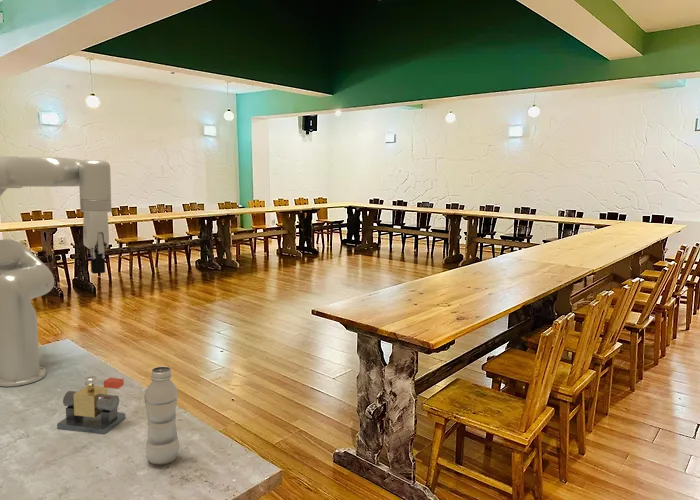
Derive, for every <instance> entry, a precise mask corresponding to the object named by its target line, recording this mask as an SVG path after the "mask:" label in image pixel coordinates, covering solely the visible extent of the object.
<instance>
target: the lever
mask: <svg viewBox="0 0 700 500" xmlns="http://www.w3.org/2000/svg"><path fill="white" fill-rule="evenodd" d="M93 384H94V385H96V386H103V387H105V388H108V389H116V390H118V389H120V388H122V387H123V386H124V385H125V381H124V378H117V377H108V378H98V377H97V376H94V375H92V376H91V375H90V376H87V377H85V378H84V385H86V386H88V385H93Z"/></svg>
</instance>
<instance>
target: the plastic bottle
mask: <svg viewBox="0 0 700 500" xmlns="http://www.w3.org/2000/svg"><path fill="white" fill-rule="evenodd" d="M171 379H172V369H171V367H169V366H157V367H153V368H152V369H151V377H150V380H151V382H150V384H149V385H148V386H147V388H146V389H145V392H144V395H143V397H144V403H145V408H146V414H147V423H148V425H147V426H148V427H147V441H146V446H145V455H146V459H147V460H148V461H149V462H150V463H151V464H153V465H158V466H159V465H160V466H161V465H166V464H169V463H171V462H173V461H175V460H176V458H177V457H178V455H179V451H180V441H179V437H178V431H177V423H176V421H177V420H176V419H177V418H176V416H177V405H178V397H179V391H178V388H177V386H176V385H175V384H174V382H173V381H172V380H171Z"/></svg>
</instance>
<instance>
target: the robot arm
mask: <svg viewBox="0 0 700 500" xmlns="http://www.w3.org/2000/svg"><path fill="white" fill-rule="evenodd" d="M111 177H112V176H111V165H110V164H109V162H108V161H106V160H97V159H82V160H81V159H78V158H70V157H69V158H67V157H54V156H26V157H23V156H22V157H21V156H0V197H1V196H2V195H3V194H4V193H5V192H6V190H8V189H21V188H25V187H30V188H31V187H42V188H43V187H46V188H47V187H52V188H53V187H54V188H56V187H79V207H80V208H79V209H80V211H79V212H80V213H83V219H82V221H83V223H82V224H83V227H82V228H83V229H82V231H83V232H82V233H83V234H82V236H83V237H82V238H83V239H82V241H83V246H84V247H86V248H87V249H89V250H90V273H92V275H93V274H104V273H106V260H105V249H108V248H109V247H110V246H109V245H110V237H109V236H110V234H109V233H110V231H109V216H108V213H112V212H113V211H112V186H111V185H112V184H111ZM54 286H55V277H54V274H53V273H52V271H51V270H50V268H49V267H48V266H47V265H46V264H45V263H44V262H43V261H41V259H40V258H38V257H37V256H36V255H35V254H34V253H33V252H32V251H31V250H30V248H28V247H26V245H24V244H23V243H21V242H19V241H17V240H16V239H15V240H14V239H11V238H10V239H9V238H8V239H6V238H5V239H0V387H19V386H24V385H29V384H32V383H36V382H38V381H39V380H41V379H43V378H44V377H45V376H47V370H46V368H44V367H43V366H40V353H39V351H40V350H39V332H38V318H37V313H36V312H37V311H36V310H35V308H34V306H33V305H32V302H31V300H34V299H36V298H39V297H43V296H44V295H47V294H48V293H50V292H51V291H52V289H53V288H54Z"/></svg>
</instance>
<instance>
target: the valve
mask: <svg viewBox="0 0 700 500" xmlns="http://www.w3.org/2000/svg"><path fill="white" fill-rule="evenodd" d="M62 404H63V406H64V407H65V418H63V419H62V420H61V421H59V422H58V423H56V429H58V430H65V431H73V432H83V433H93V434H99V435H100V434H102V435H106V434H107V433H108V432H110V430H113V428H115V427H116V426H117V425H118V424H119V423H120V422H122V421H123V420H124V419H126V412H119V411H118V407H119V405H120V397H119V395H114V394H109V388H105V387H104V386H103V385H95V384H93V385H86V386H84V387H83V388H81V389H80V390H78V391H76V390H68V391H67V392H65V393H64V396H63V399H62Z"/></svg>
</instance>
